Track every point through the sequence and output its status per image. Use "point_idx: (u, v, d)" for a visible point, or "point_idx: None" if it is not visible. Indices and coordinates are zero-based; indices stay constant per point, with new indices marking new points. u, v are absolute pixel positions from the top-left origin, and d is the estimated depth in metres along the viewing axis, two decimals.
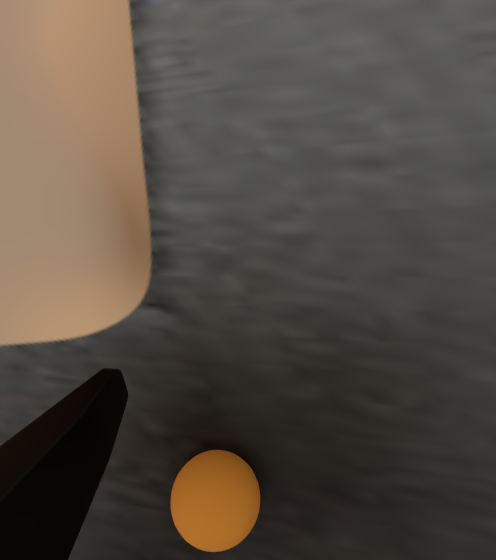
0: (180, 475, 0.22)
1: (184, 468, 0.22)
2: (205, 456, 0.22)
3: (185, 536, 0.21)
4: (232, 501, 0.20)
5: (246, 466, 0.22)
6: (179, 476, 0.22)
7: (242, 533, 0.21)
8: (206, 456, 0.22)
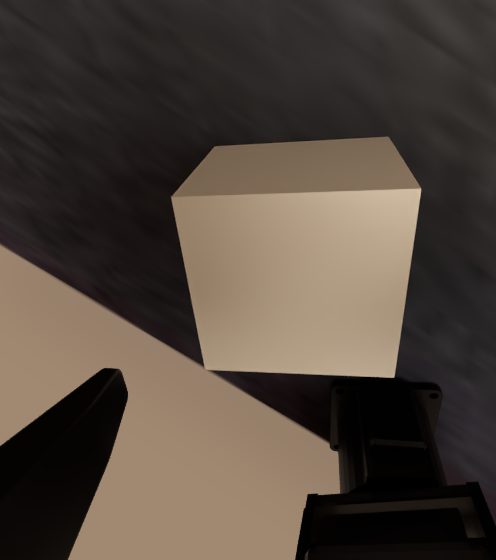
0: None
1: None
2: None
3: None
4: None
5: None
6: None
7: None
8: None
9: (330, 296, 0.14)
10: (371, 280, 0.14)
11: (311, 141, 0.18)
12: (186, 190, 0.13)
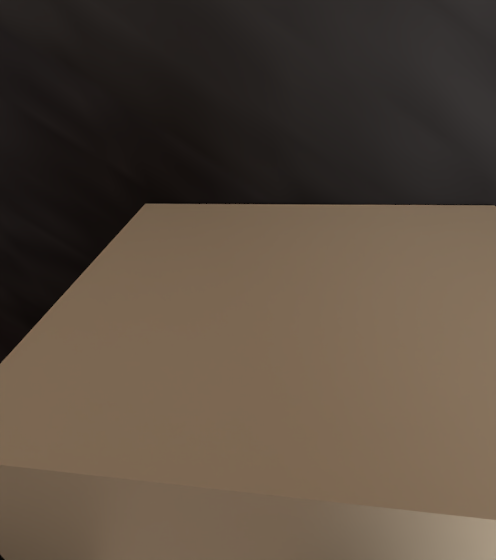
0: None
1: None
2: None
3: None
4: None
5: None
6: None
7: None
8: None
9: None
10: None
11: (335, 206, 0.09)
12: None
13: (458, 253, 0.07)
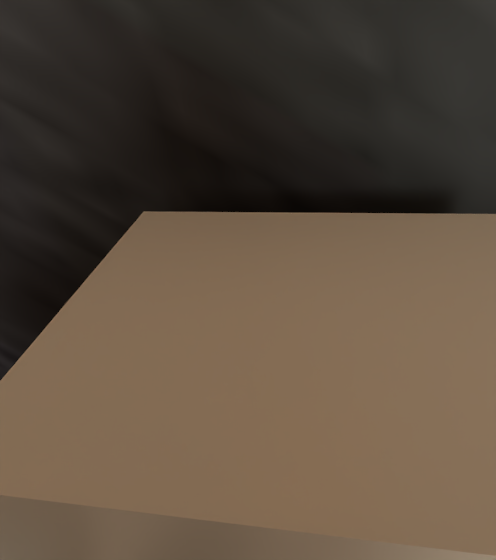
0: None
1: None
2: None
3: None
4: None
5: None
6: None
7: None
8: None
9: None
10: None
11: (335, 214, 0.09)
12: None
13: (459, 266, 0.07)
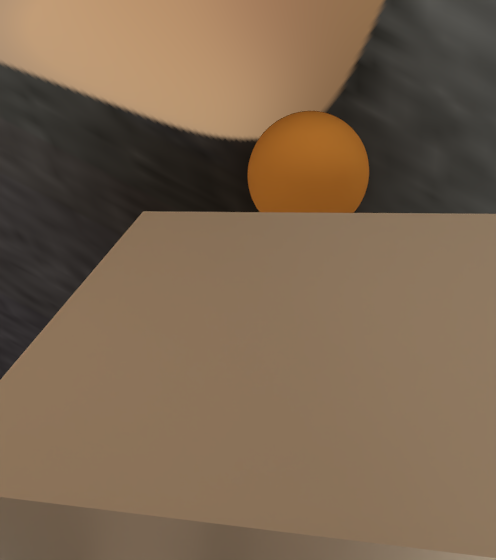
0: None
1: None
2: None
3: None
4: None
5: (365, 186, 0.16)
6: None
7: None
8: None
9: None
10: None
11: (335, 214, 0.09)
12: None
13: (459, 266, 0.07)
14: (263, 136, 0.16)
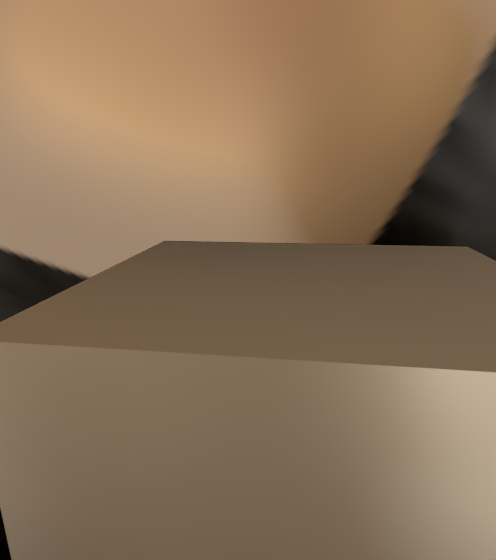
0: None
1: None
2: None
3: None
4: None
5: None
6: None
7: None
8: None
9: None
10: None
11: (330, 244, 0.10)
12: (27, 322, 0.05)
13: (437, 264, 0.08)
14: None
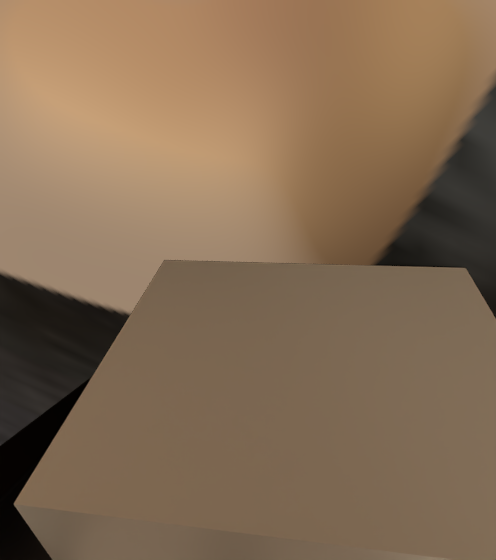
0: None
1: None
2: None
3: None
4: None
5: None
6: None
7: None
8: None
9: None
10: None
11: (329, 266, 0.10)
12: (60, 466, 0.06)
13: (430, 319, 0.08)
14: None
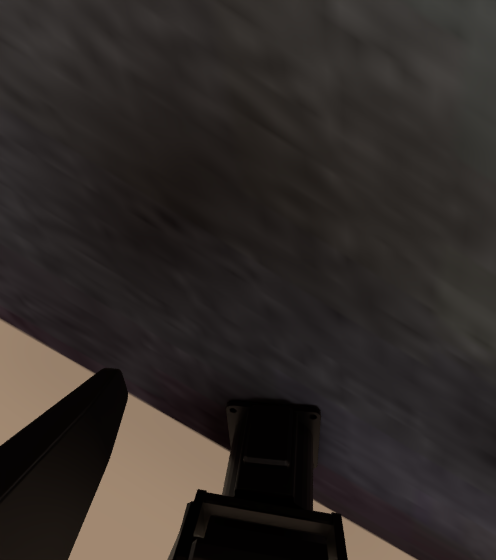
0: None
1: None
2: None
3: None
4: None
5: None
6: None
7: None
8: None
9: None
10: None
11: None
12: None
13: None
14: None
